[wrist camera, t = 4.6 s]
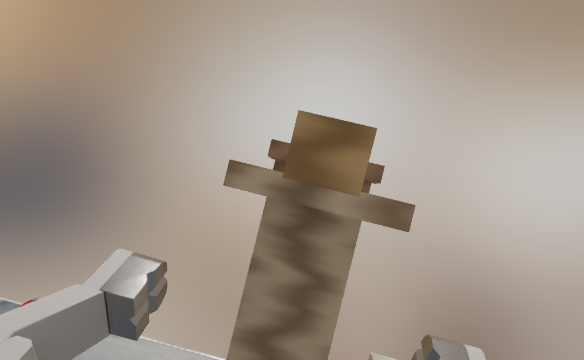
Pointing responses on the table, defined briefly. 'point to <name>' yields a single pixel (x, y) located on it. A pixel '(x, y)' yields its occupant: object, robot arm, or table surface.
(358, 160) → the tan wooden bar
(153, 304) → the robot arm
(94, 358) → the table surface
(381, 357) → the bin
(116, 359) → the table surface
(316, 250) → the stand
